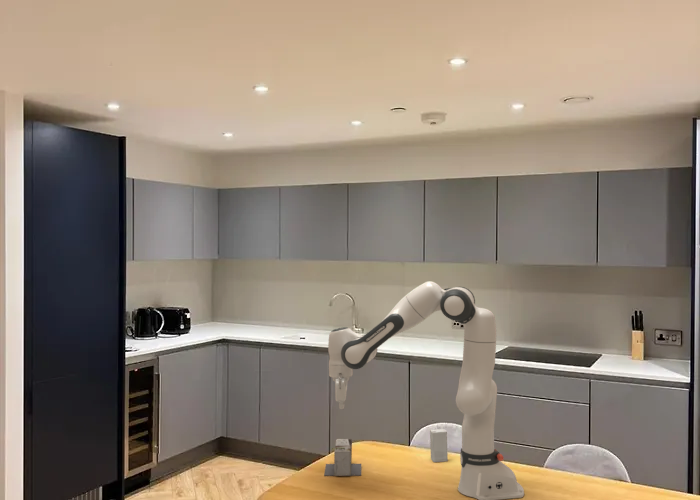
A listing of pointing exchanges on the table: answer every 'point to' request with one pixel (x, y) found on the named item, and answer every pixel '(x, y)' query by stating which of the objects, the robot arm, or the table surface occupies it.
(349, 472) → the coffee box
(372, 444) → the table surface
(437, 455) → the skincare box
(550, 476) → the table surface
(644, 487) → the table surface
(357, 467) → the mat
